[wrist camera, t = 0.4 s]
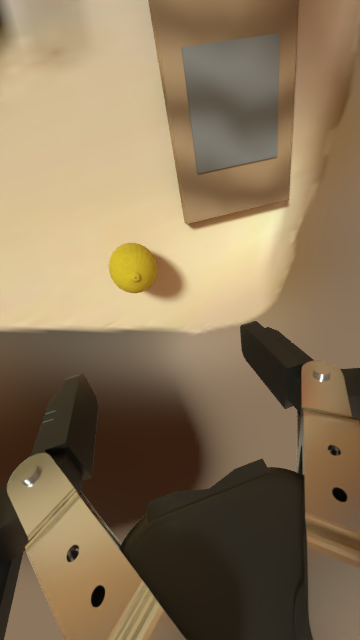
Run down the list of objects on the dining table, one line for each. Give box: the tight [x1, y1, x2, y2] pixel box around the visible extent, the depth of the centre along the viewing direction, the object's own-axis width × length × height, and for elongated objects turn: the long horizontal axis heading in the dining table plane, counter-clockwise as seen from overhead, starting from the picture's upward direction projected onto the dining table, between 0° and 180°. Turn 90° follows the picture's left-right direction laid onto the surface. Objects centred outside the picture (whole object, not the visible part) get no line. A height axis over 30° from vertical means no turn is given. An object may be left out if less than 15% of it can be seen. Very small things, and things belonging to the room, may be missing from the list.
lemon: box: [109, 243, 157, 293], centre depth 27 cm, size 6×6×8 cm
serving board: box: [149, 0, 299, 224], centre depth 25 cm, size 20×14×2 cm
